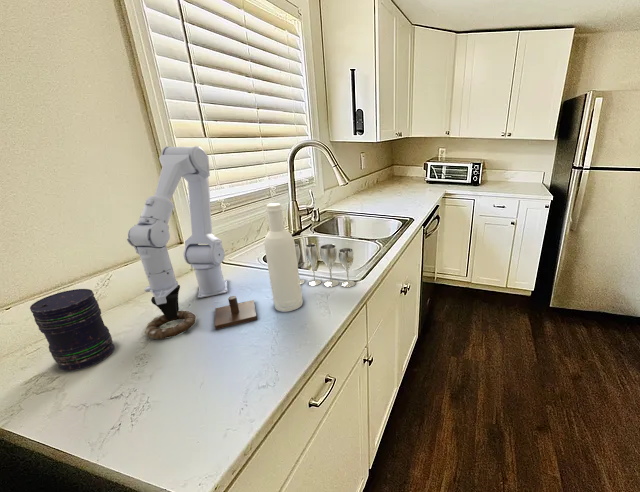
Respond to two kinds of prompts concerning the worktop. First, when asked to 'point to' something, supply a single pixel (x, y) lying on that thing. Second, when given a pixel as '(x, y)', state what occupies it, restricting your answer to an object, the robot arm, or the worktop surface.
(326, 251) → the goblet set
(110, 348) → the storage jar
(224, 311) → the brown peg plate
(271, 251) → the bottle
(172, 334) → the ring
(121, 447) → the worktop surface
